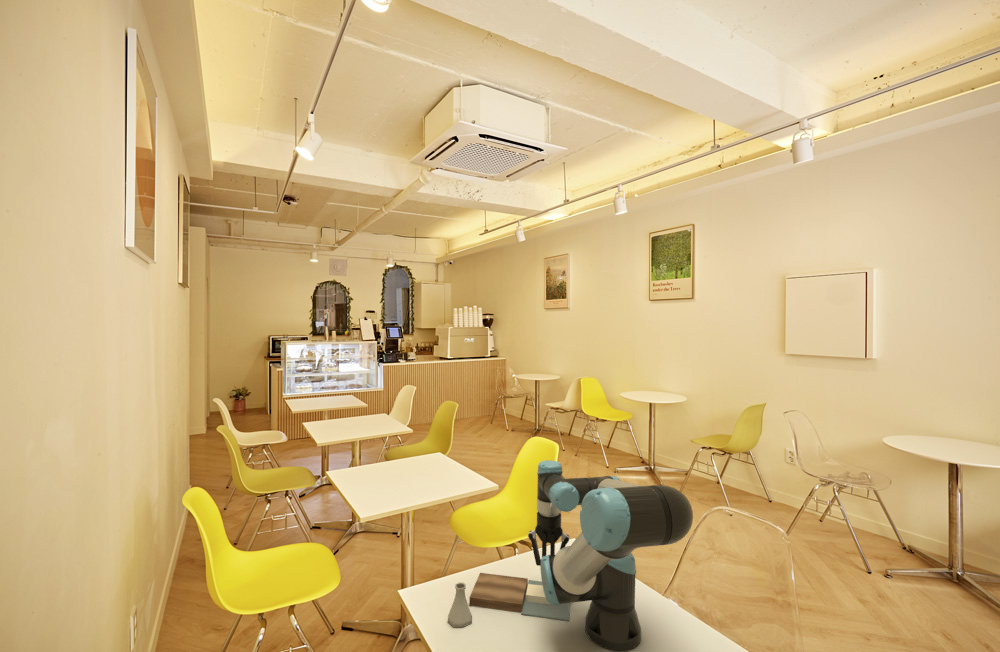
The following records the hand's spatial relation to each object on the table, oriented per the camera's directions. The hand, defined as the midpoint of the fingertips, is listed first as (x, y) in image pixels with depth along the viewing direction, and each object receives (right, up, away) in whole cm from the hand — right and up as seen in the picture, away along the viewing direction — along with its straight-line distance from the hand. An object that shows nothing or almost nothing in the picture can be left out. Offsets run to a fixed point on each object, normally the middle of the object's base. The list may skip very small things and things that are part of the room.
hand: (547, 587), depth 140 cm
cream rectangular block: (-2, -3, +1) cm, 4 cm away
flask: (-26, -3, -10) cm, 29 cm away
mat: (0, -4, 0) cm, 4 cm away
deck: (-15, -3, +2) cm, 15 cm away
